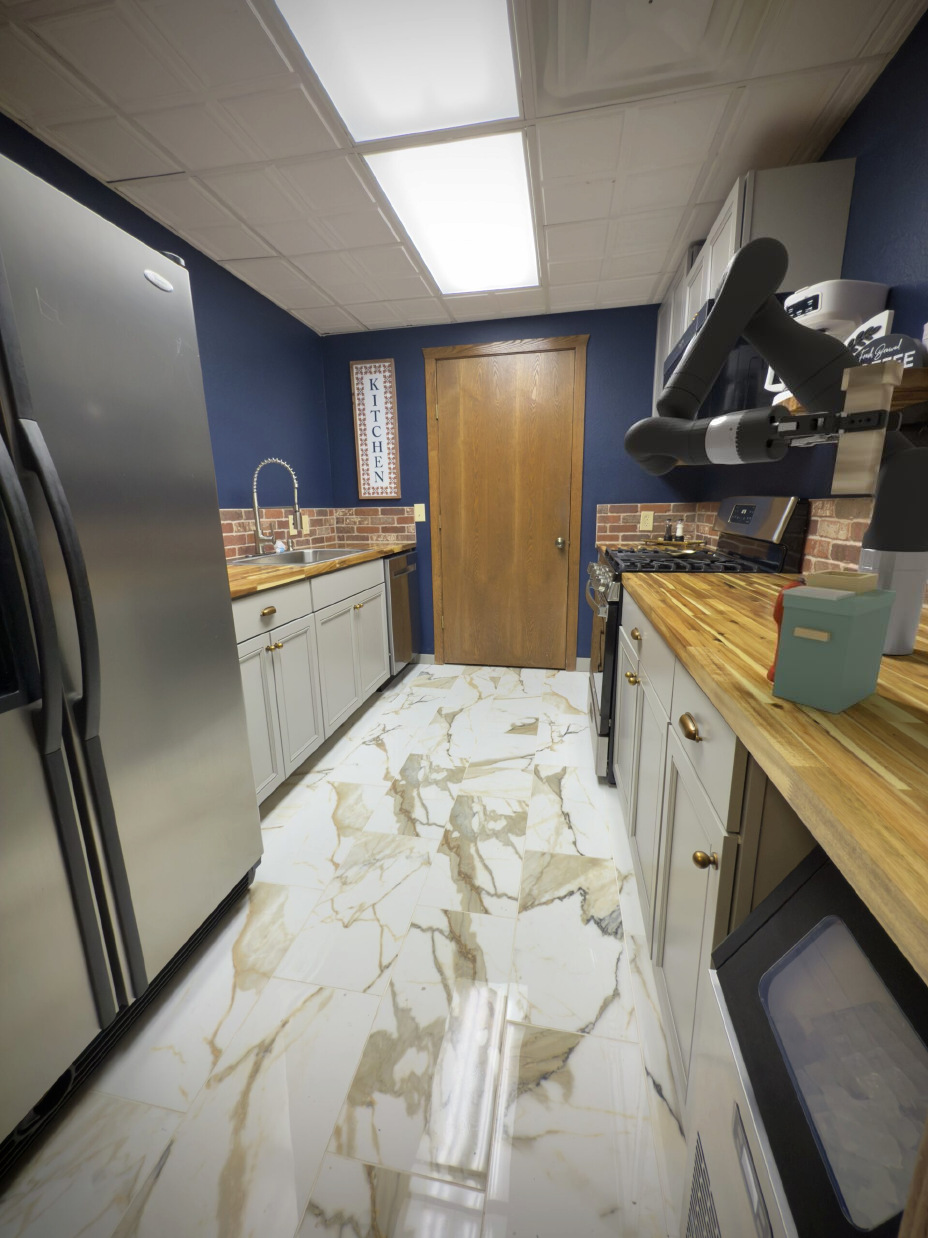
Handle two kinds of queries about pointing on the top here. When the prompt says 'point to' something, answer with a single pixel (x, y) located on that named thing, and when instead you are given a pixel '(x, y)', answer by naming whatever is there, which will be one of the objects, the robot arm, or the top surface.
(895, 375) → the wooden key
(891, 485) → the robot arm
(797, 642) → the tool chest
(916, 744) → the top surface
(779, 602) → the toy drill
